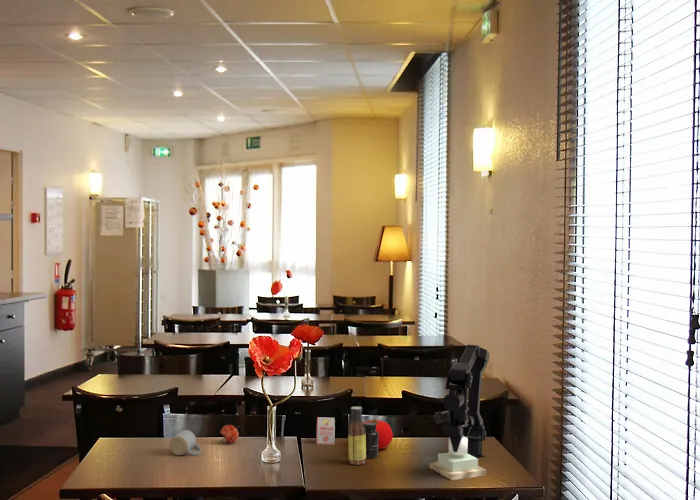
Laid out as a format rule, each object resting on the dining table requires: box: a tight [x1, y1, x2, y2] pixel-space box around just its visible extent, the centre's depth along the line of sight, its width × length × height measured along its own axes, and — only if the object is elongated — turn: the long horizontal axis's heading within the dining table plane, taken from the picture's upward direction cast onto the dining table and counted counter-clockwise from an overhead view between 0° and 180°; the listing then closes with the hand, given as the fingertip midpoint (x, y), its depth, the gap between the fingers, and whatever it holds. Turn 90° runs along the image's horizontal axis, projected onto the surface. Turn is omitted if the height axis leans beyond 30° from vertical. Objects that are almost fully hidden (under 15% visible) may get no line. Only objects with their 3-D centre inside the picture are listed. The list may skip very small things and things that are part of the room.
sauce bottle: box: [347, 406, 367, 466], centre depth 281 cm, size 7×6×20 cm
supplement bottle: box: [363, 422, 379, 459], centre depth 290 cm, size 7×7×12 cm
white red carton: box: [315, 416, 336, 446], centre depth 306 cm, size 4×7×10 cm, turn 88°
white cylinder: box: [448, 436, 468, 455], centre depth 274 cm, size 6×6×5 cm
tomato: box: [362, 419, 394, 450], centre depth 302 cm, size 14×13×10 cm
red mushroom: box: [217, 424, 240, 445], centre depth 304 cm, size 7×7×10 cm
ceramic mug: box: [169, 429, 202, 456], centre depth 289 cm, size 11×8×8 cm
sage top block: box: [437, 452, 479, 472], centre depth 274 cm, size 10×10×4 cm
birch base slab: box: [429, 461, 487, 481], centre depth 274 cm, size 14×14×2 cm
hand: (458, 449), depth 274 cm, fingers closed on white cylinder, 6 cm apart
